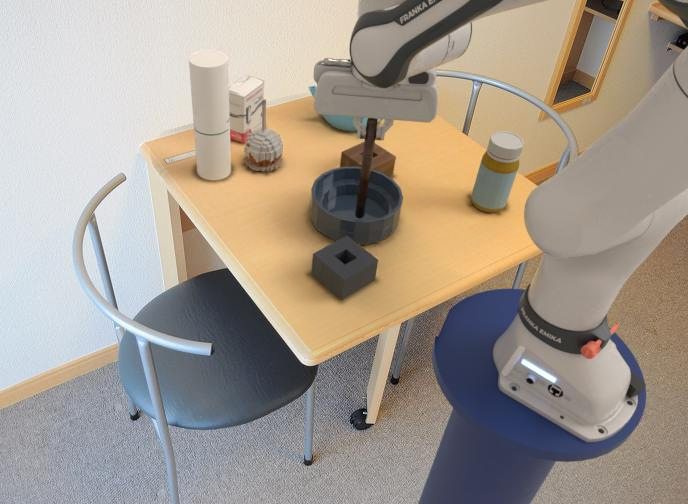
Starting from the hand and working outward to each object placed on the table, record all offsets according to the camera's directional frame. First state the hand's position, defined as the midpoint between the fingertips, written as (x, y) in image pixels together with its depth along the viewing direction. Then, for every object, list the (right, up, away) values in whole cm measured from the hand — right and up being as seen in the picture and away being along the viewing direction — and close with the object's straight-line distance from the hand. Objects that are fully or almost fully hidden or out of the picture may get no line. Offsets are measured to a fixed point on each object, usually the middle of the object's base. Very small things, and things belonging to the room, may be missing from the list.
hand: (370, 137), depth 113 cm
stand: (-4, -24, +3) cm, 25 cm away
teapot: (+1, +13, +42) cm, 44 cm away
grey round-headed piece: (-19, 0, +28) cm, 34 cm away
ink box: (-24, +8, +36) cm, 44 cm away
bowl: (-1, -13, +16) cm, 20 cm away
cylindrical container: (-30, -2, +25) cm, 39 cm away
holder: (+2, -3, +26) cm, 26 cm away
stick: (-1, -13, +12) cm, 18 cm away
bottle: (+26, -9, +20) cm, 35 cm away
